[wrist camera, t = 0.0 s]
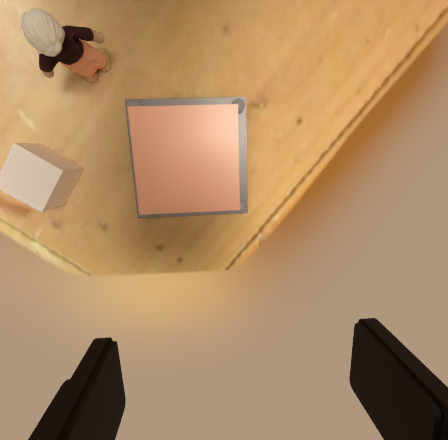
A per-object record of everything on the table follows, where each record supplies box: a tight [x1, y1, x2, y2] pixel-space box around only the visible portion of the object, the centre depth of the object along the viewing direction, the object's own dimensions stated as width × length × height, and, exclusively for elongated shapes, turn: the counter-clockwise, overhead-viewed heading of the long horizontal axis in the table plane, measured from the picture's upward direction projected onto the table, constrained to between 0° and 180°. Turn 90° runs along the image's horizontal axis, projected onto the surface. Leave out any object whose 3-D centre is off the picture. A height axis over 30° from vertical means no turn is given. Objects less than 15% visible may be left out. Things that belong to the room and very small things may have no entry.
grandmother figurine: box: [21, 8, 111, 83], centre depth 29 cm, size 8×4×13 cm, turn 134°
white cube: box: [0, 143, 84, 212], centre depth 35 cm, size 6×6×6 cm
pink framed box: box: [125, 97, 248, 218], centre depth 35 cm, size 16×16×8 cm
